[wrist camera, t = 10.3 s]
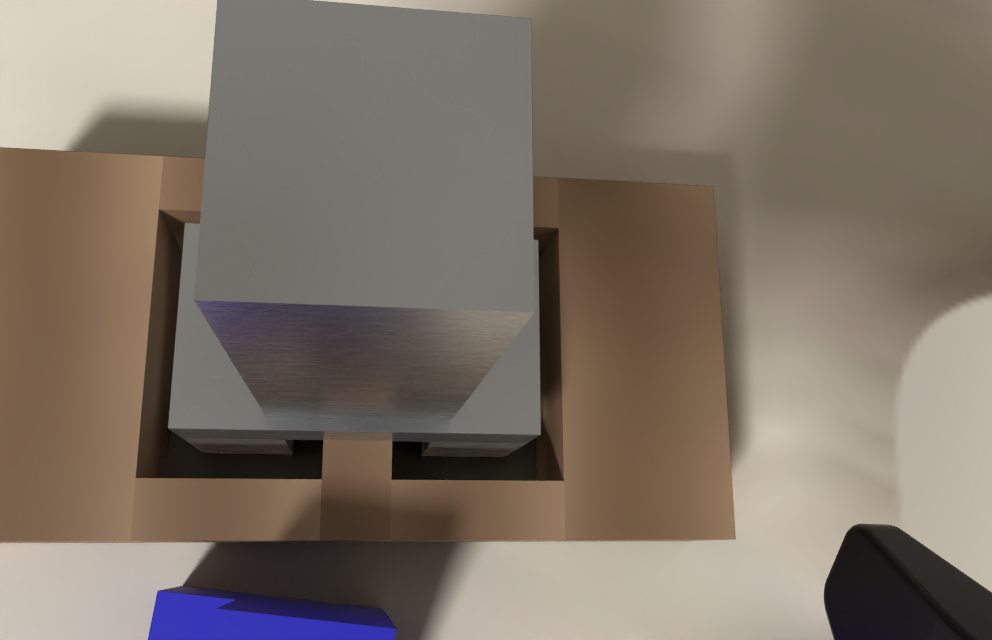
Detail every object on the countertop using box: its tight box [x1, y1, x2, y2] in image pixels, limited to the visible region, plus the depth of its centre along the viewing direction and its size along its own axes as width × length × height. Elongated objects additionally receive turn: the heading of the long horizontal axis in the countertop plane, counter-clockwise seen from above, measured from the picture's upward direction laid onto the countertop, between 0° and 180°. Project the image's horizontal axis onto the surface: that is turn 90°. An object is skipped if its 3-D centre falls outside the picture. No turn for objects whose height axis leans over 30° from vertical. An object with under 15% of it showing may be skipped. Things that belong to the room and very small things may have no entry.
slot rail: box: [0, 147, 736, 543], centre depth 21 cm, size 16×8×3 cm, turn 90°
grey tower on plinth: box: [168, 0, 541, 457], centre depth 16 cm, size 7×4×13 cm, turn 90°
